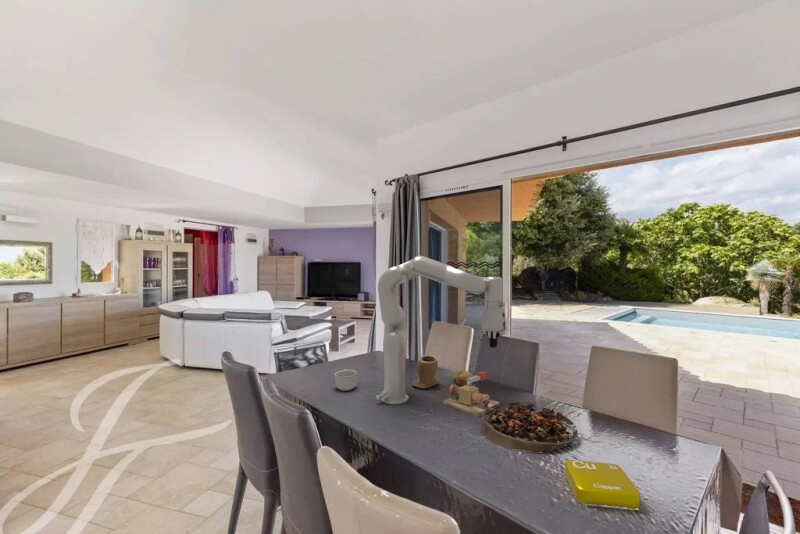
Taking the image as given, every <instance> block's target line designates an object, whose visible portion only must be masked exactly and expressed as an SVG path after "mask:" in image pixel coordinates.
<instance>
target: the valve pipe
mask: <svg viewBox="0 0 800 534" xmlns="http://www.w3.org/2000/svg"><path fill="white" fill-rule="evenodd" d="M448 394H449V395H450V398H451V399H453V400H458V399H459V402H461V403H464V404H467V405H470V406H471V405H473V404H475V403H478V408H481V409H486V408H488V404H489V402H490V400H491V397H490V395H489V394H488V393H480V392H479V387H477V386H473V385H470V386H467V385H461V386H458V385H457V384H454V383H452V384H450V386H449V387H448Z"/></svg>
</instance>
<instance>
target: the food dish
mask: <svg viewBox="0 0 800 534" xmlns="http://www.w3.org/2000/svg"><path fill="white" fill-rule="evenodd" d="M498 405H499V406H500V404H496V405H493V406H491V407H490V408H494V407H497V406H498ZM499 406H498V407H499ZM514 406H516V408H515V407H514ZM498 407H497V408H498ZM534 407H535V404H534V403H528V404H527V405H526V406H525V405H524V404H521V402H519V401H511V402H510V403H508V408H507V407H505V410H503V413H501V412H500V409H499V408H498V409H496V408H495V409H493V412H492V413H491V411H489V409H490V408H488V409H486V410H485V411H488V412H487V413H489V419H488V417H486V416H485V414H484V413H483V415H481V416H482V417H481V418H482V423H481V426H480V429H479V431H480V432H479V433H480V434H481V435H483V436H484V437H485V438H487V441H489V440H490V441H489V442H491V443H493V444H494V445H495V446H498V445H499V447H500V446H501V447H500V448H503V447H504V448H503V449H505V448H506V449H505V450H508V449H517V450H516V451H518V450H519V449H520V450H525V451H532V452H543V451H551V450H552V451H554V450H553V449H556V450H559V449H558V448H561V449H563V448H564V447H563V446H565V445H568V444H569V445H570V444H571V443H572V442H574V441H575V440H576V439H577V437H578V435H579V433H578V429H575V430H574V431H572V435H571V436H569V434H571V432H569V431H567V429H568V428H567V425H570V426H572V425H573V426H572V428H573V429H574V428H576V427H577V426H576V425H575V423H574V422H572V420H571V419H569V418H568V417H567V416H565V415H563V413H562V412H559V411H558V412H556V413H555V410H554V409H553V408H551V409H550V408H547V407H541V411H539V412H537V411H536V410H535V408H534ZM485 411H484V412H485ZM561 422H565V423H566V424H567V425H565V426H564V425H563V423H561ZM558 441H559V442H558ZM569 445H568V446H569ZM562 447H563V448H562ZM552 451H551V452H552ZM532 452H531V453H532ZM543 453H544V452H543Z"/></svg>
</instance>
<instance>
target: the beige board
mask: <svg viewBox="0 0 800 534" xmlns="http://www.w3.org/2000/svg"><path fill="white" fill-rule="evenodd" d="M442 402H443V403H442V405H445V406H447V407H450V408H453V409H456V410H457V411H458V410H459V411H462V412H464V413H467V414H468V415H473V416H476V417H481V416H483V413H484V415H485V414H487V413H489V412H488V411H485V410H486V409H488V408H490V407H491V406H493V405H496V404H499V405H498V406H497V407H494V408H490V409H489V411H490V412H491V411H494V410H496V408H498V407H500V402H499V401H496V400H493V399H490V402H489V404H488V408H486V409H481V408H478V403H475V404H473V405H471V406H470V405H467V404H464V403H461V402H459V399H458V400H453V399H451V397H450V398H447V399H445V400H443V401H442ZM484 411H485V412H484Z"/></svg>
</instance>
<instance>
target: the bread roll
mask: <svg viewBox="0 0 800 534" xmlns="http://www.w3.org/2000/svg"><path fill="white" fill-rule="evenodd" d="M473 376H474V374H473V373H472V372H470V371H469V370H460V371H457V372H456V373H455V374H454V375H453V381H454V383H455V385H459V386H465V385H467V378H470V377H473ZM474 383H475V382H472V383H470V385H471V386H473V385H474Z"/></svg>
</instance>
